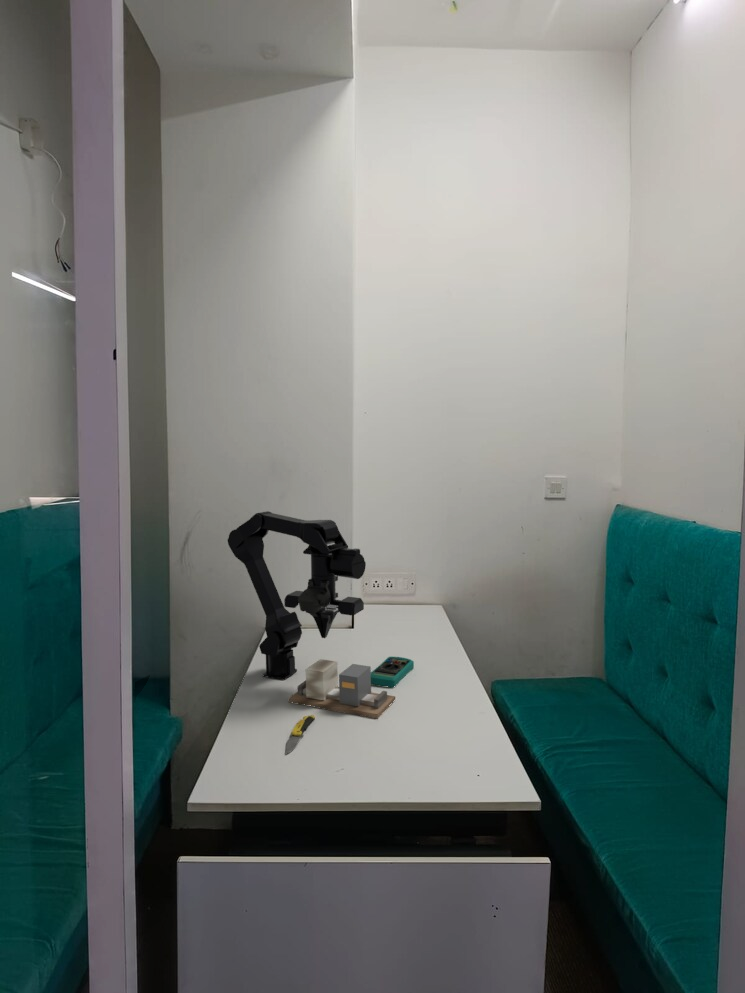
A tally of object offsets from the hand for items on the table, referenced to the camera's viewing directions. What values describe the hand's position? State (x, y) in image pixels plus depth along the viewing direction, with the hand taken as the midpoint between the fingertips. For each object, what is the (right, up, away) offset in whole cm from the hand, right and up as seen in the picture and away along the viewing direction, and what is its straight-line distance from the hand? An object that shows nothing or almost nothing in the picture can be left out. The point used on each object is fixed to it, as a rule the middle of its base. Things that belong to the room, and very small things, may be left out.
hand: (324, 637), depth 156 cm
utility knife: (-3, -15, -24) cm, 29 cm away
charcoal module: (+8, -12, -10) cm, 17 cm away
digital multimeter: (+16, -12, +7) cm, 21 cm away
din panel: (+5, -13, -8) cm, 16 cm away
